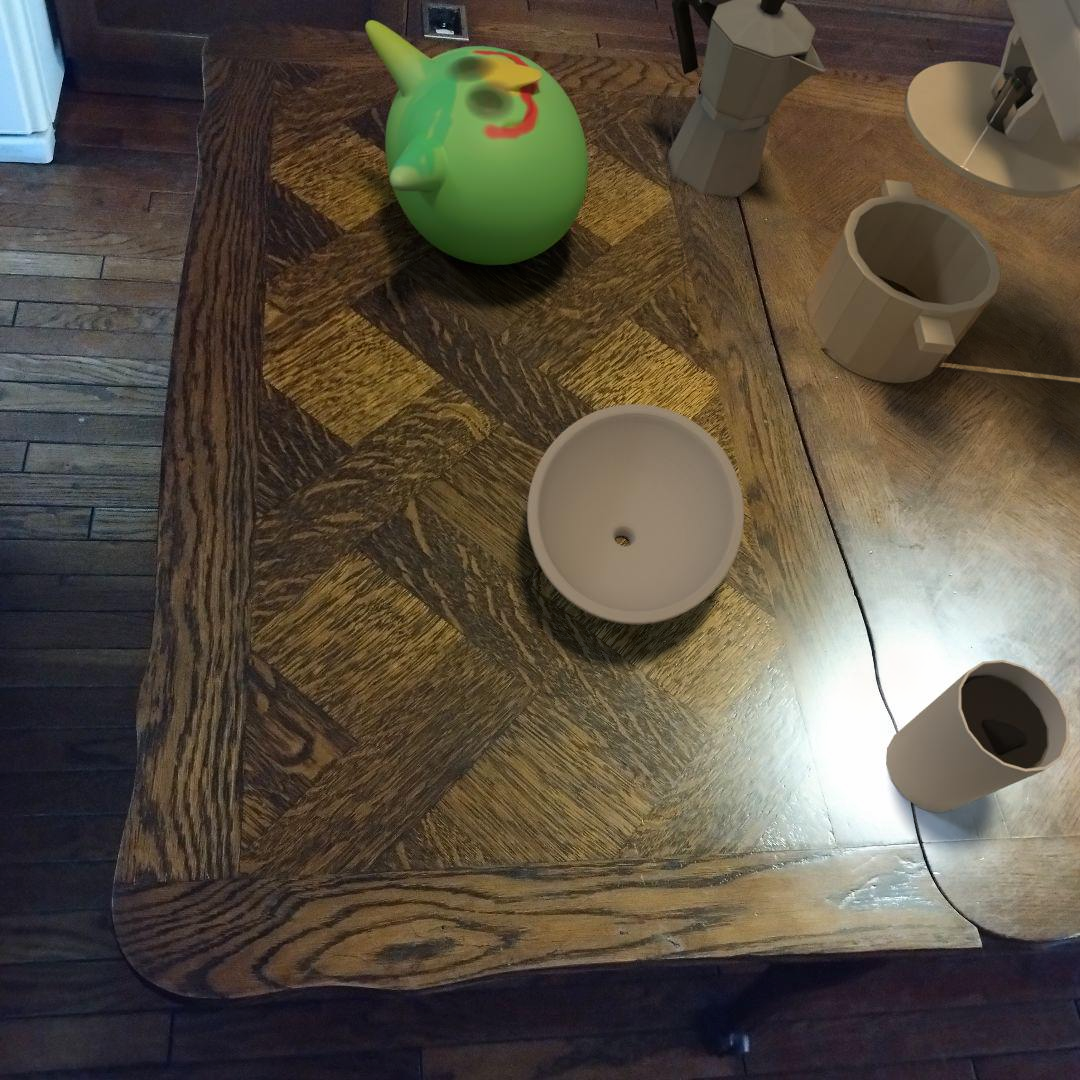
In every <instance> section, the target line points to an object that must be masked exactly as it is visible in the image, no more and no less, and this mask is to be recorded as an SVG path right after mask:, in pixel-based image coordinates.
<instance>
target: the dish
mask: <svg viewBox="0 0 1080 1080" xmlns="http://www.w3.org/2000/svg"><path fill="white" fill-rule="evenodd" d="M526 522H527V530H528V536H529V541H530V545H531V549H532V551H533V554H534V557H535V559H536V561H537V563H538V565H539V567H540V569H541V571H542V572H543V574H544V576H545V577H546V578H547V580H548V581H549V582H550V584H551V585H552V586H553V587H554V589H555V590H556V591H557V592H558V593H559V594H560V595H561V596H562V597H564V598H565V599H566V600H567V601H568V602H570V604H572V605H574V606H575V607H576V608H578V609H579V610H581V611H583V612H585V613H587V614H589V615H591V616H593V617H595V618H598V619H600V620H604V621H607V622H612V623H616V624H621V625H630V626H631V625H633V626H634V625H636V626H638V625H650V624H656V623H660V622H665V621H669V620H671V619H674V618H676V617H679V616H681V615H683V614H685V613H687V612H689V611H690V610H692V609H694V608H696V607H697V606H698V605H701V603H703V602H704V601H705V600H706V599H707V598H708V597H710V595H712V594H713V593H714V591H716V589H717V588H718V587H719V586H720V585H721V583H722V582H723V580H725V578H726V576H727V575H728V573H729V572H730V570H731V568H732V566H733V565H734V562H735V560H736V557H737V555H738V552H739V549H740V545H741V542H742V538H743V532H744V526H745V525H744V523H745V507H744V498H743V491H742V488H741V484H740V481H739V478H738V475H737V472H736V470H735V468H734V466H733V463H732V462H731V460H730V458H729V457H728V454H727V453H726V452H725V451H724V449H723V448H722V446H721V445H720V444H719V443H718V441H717V440H716V439H715V438H714V437H713V436H712V435H711V434H710V433H709V432H708V431H707V430H705V429H704V428H703V427H702V426H701V425H699V424H698V423H696V422H695V421H693V420H692V419H690V418H689V417H687V416H685V415H683V414H681V413H678V412H676V411H674V410H671V409H668V408H665V407H662V406H656V405H651V404H641V403H625V404H620V405H612V406H609V407H604V408H602V409H598V410H596V411H593V412H591V413H588V414H587V415H585V416H583V417H582V418H580V419H578V420H576V421H575V422H573V423H572V424H570V425H569V426H568V427H567V428H566V429H564V430H563V431H562V432H561V433H560V434H559V435H558V436H557V437H556V438H555V440H553V441H552V443H551V444H550V445H549V447H548V448H547V449H546V451H545V452H544V454H543V456H542V457H541V458H540V460H539V462H538V465H537V466H536V468H535V471H534V474H533V477H532V479H531V483H530V486H529V491H528V496H527V504H526ZM617 537H624V538H626V539H627V540H628V542H629V543H628V544H629V545H626V546H624V545H621V544H619V543H618V542H617V541H616V538H617Z"/></svg>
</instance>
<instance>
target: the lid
mask: <svg viewBox="0 0 1080 1080" xmlns="http://www.w3.org/2000/svg"><path fill="white" fill-rule="evenodd" d="M1000 68H1001V66H997V65H994V64H988V63H984V62H976V61H967V60H965V61H962V60H958V61H946V62H940V63H937V64H934V65H930V66H928V67H927V68H924V69H923V70H922V71H920V72H919V73H918V74H917V75H916V76H915V77H914V78H913V79H912V80H911V82H910V84H909V86H908V88H907V90H906V91H905V94H904V99H903V109H904V110H903V111H904V117H905V119H906V122H907V125H908V127H909V129H910V130H911V132H912V134H913V135H914V137H915V138H916V139H917V141H918V142H919V143H920V145H921V146H922V147H923V148H924V149H925V150H926V151H927V152H928V153H929V154H930V155H931V156H932V157H933V158H934V159H935V160H937V161H938V162H939V163H941V164H942V165H943V166H944V167H946V168H947V169H949V171H952V172H954V173H955V174H957V175H959V176H960V177H962V178H963V179H966V180H967V181H969V182H972V183H974V184H976V185H978V186H980V187H983V188H985V189H987V190H991V191H993V192H997V193H1000V194H1005V195H1008V196H1011V197H1013V196H1014V197H1019V198H1026V199H1051V198H1057V197H1061V196H1064V195H1067V194H1070V193H1072V192H1074V191H1076V190H1077V189H1079V188H1080V148H1079V147H1073V146H1069V145H1066V144H1064V143H1063V142H1062V140H1061V138H1060V136H1059V133H1058V131H1057V128H1056V126H1055V123H1054V120H1053V118H1050V119H1048V120H1047V121H1045V122H1043V123H1042V125H1041V126H1040V128H1039V129H1038V130H1037V132H1036V133H1035V135H1034V136H1033V138H1032V139H1031V140H1030V141H1028V142H1024V143H1022V142H1016V141H1009V140H1008V139H1007V137H1006V134H1005V131H1004V128H1003V125H1002V122H1003V120H1004V118H1005V117H1006V116H1007V115H1008V112H1009V110H1010V108H1011V107H1012V105H1013V104H1014V103H1017V104H1023V105H1024V104H1025V103H1026V102H1027V101H1028V100H1030V99H1031V98H1032V97H1033V96H1034V95H1033V94H1032V88H1033V86H1034V85H1035V83H1036V82H1037V77H1036V75H1035V72H1034V70H1033V67H1028V66H1020V67H1017V68H1016V69H1015V70H1014V71H1013V73H1012V75H1011V76H1010V78H1009V79H1008V81H1007V83H1006V84H1005V86H1004V88H1003V89H1002V91H1001V92H1000V94H999V96H998V97H997V99H996V101H995V102H994V99H993V97H992V94H991V91H990V85H991V83H992V82H993V80H994V78H995V77H996V75H997V73H998V72H999V70H1000Z"/></svg>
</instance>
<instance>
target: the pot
mask: <svg viewBox="0 0 1080 1080" xmlns="http://www.w3.org/2000/svg"><path fill="white" fill-rule="evenodd" d="M880 193H881V196H879V197H873V198H869V199H867V200H865V201H863V203H862V204H860V205H858V206H857V207H856V208H854V209H853V210H852V211H851V212H850V214H849V215H848V217H847V219H846V221H845V223H844V224H843V227H842V228H841V230H840V232H839V234H838V236H837V237H836V240H835V242H834V243H833V245H832V247H831V249H830V251H829V253H828V254H827V256H826V258H825V260H824V262H823V264H822V266H821V268H820V270H819V271H818V273H817V275H816V277H815V279H814V281H813V283H812V285H811V288H810V290H809V293H808V295H807V298H806V301H805V304H806V310H807V317H808V321H809V324H810V327H811V328H812V329H813V332H814V333H815V334H816V336H817V337H818V338H819V340H820V342H821V343H822V345H823V346H824V347H821V349H822V351H823V352H824V353H825V354H827V356H828V357H830V358H831V359H832V360H833V361H834V362H836V363H837V364H839V365H840V366H842V367H843V368H845V369H847V370H848V371H850V372H852V373H854V374H856V375H858V376H861V377H864V378H866V379H869V380H874V381H875V382H876V381H877V382H882V383H891V384H906V383H911V382H916V381H919V380H922V379H924V378H926V377H928V376H930V375H931V374H933V373H934V372H935V371H936V370H937V369H939V367H940V366H941V365H942V364H943V363H944V362H946V360H947V358H948V357H949V356H950V355H951V354H952V352H953V351H954V349H955V348H956V347H957V345H958V344H959V343H960V341H961V340H962V339H963V338H964V336H965V335H966V333H967V332H968V331H969V329H970V328H971V327H972V325H973V324H974V323H975V322H976V320H977V319H978V318H979V316H980V315H981V314H982V312H983V311H984V310H985V309H986V307H987V306H988V305H989V303H990V302H991V301H992V299H993V298H994V296H996V294H997V291H998V288H999V283H1000V279H1001V276H1002V275H1001V274H1002V272H1001V268H1000V265H999V262H998V259H997V254H996V252H995V250H994V248H993V247H992V245H991V244H990V243H989V241H988V240H987V239H986V238H985V237H984V235H983V234H982V233H981V232H980V230H979V229H978V228H977V227H976V226H974V225H973V224H972V223H970V222H969V221H967V220H966V219H965V218H964V217H962V216H960V215H959V214H957V213H956V212H955V211H953V209H950V208H948V207H945V206H942V205H940V204H938V203H935V202H933V201H930V200H927V199H925V198H920V197H917V195H916V192H915V189H914V185H913V183H912V182H906V181H899V180H892V179H885V180H884V182H883V184H882V185H881V187H880ZM881 278H883V279H886V280H888V281H891V282H893V283H895V284H898V285H900V286H903V287H904V288H905V289H907V290H908V291H909V292H911V293H912V294H914V295H915V296H916V297H913V296H911V295H909V294H907V293H903V292H901V291H898V290H896V289H895V288H894V287H892V286H891V285H889V284H888V283H887V282H886V281H884V280H883V279H881Z"/></svg>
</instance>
